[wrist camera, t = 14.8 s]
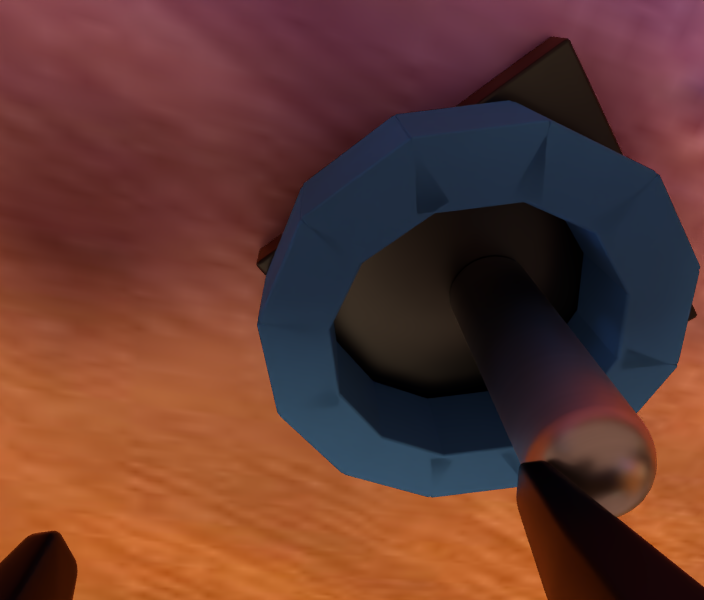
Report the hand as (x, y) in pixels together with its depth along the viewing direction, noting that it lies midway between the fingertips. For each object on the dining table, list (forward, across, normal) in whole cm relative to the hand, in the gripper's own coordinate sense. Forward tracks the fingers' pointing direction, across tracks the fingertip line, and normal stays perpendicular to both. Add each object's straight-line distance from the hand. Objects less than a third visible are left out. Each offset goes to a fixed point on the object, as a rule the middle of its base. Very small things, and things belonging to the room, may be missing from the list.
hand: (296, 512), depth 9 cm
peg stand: (+7, -5, 0) cm, 9 cm away
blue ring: (+6, -4, 0) cm, 8 cm away
